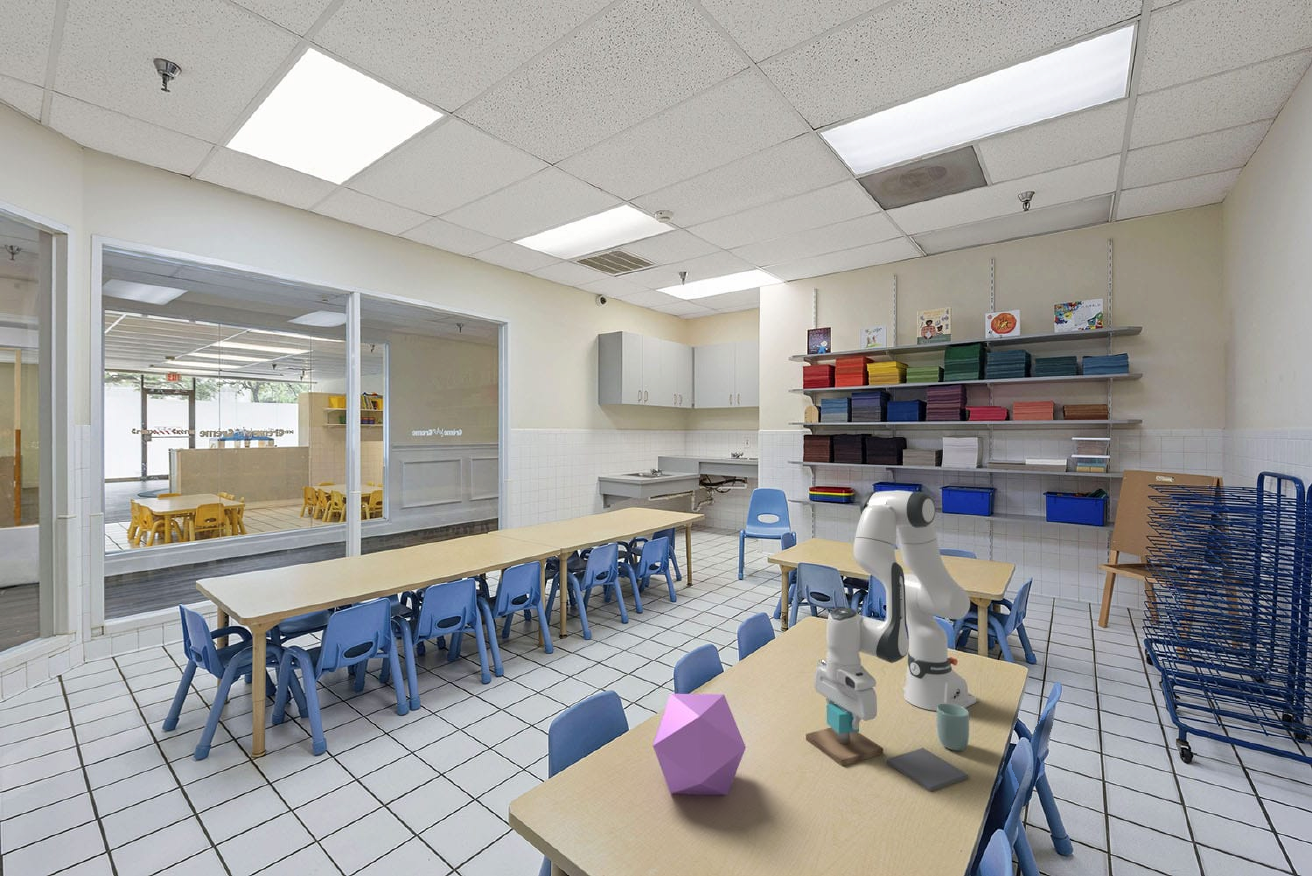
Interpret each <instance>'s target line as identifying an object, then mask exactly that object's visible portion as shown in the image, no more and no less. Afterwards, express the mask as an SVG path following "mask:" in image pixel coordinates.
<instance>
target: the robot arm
mask: <svg viewBox="0 0 1312 876" xmlns="http://www.w3.org/2000/svg"><path fill="white" fill-rule="evenodd" d="M859 512H860V514H861V515H860V518H859V521H858V524H857V526H856V527H857V528H856V531H855V535H854V542H853V550H852V554H853V555H852V556H853V558H854V560H855V562H856V564H857V565H858V566H859V567H860V568H861V569H862V570H863V571H865V572H866V573H868V574H869V575H871V576H872V577H875V579H877V580H878V581H880V583H881V584H882V585H883V587H884V589H885V603H886V605H885V606H886V609H885V610H886V619H885V620H879V619H875V618H871V617H868V616H864V615H860V614H858V612H857V610H855V609H853V608H852V607H851V608H850V607H836V608H834V609H832V610H830V612H829V613H828V617H827V623H826V635H825V636H826V645H827V653H826V656H825V657H826V659H819V660H818V661H817V663H816V670H815V675H814V690H815V693H817V694H819V695H822V696H823V697H825V698H826V699H825V701H826V705H829V704H838V705H839V706H841V707H843V708H844V709H846V710H848V711H849V712H851V713H852V716H853V717H854V719H853V721H850V727H851V728H852V729H854V730H857V729H858V728H859V729H860V722H861V720H863V721H867V722H868V721H871V720H874V719H876V717H877V715H878V714H877V713H878V700H877V693H876V690H875V689H874V688H875V687H876V686H877V681H876V679H875V677H874V676H873V675H872V674H871V673H869V672H868V671H867V670H866V669H865V667H864V666H863V665H862V660H861V657H860V653H863V654H865V655H869V656H872V657H876V658H878V659H880V660H882V661H885V662H887V663H891V664H894V663H897V662H898V661H901V660H902V659H904V658H905V657H906V656H907V657H906V659H907V665H908V666H907V667H906V676H905V685H904V686H903V687H902V688H903V689H902V690H903V693H904V694H903V698H904V699H905V701H906V702H908V703H909V704H911V705H913V706H915V707H918V708H921V709H924V710H929V711H934V712H935V711H936V712H937V705H938V704H941V703H950V704H956V705H959V706H962V707H964V708H965V709H967V708H968V707H970V706H972V705H973V704H975V703H977V701H978V700H977V697H975V696H974V695H973V694H971V693H970V692H969V688H968V682H967V681H966V679H965V678H963V677H962V676H961V675H959V673H957V672H956V671H955V670H953V668H952V666H957V665H958V662H959V661H958V660H957V658H954V657H951V656H950V657H949V654H948V652H949V651H948V635H947V632H946V631H945V629H944V628H943V627H942V626H941V625H940V623H938V622H937V620H936V618H935V617H938V618H941V619H951V620H961V619H963V618H964V617H965V616H966V615H967V614H968V613H969V610H970V608H971V598H970V596H969V593H968V592H967V590H966V589H964V587H962V586H961V585H959V584H958V582H957V581H956V580H955V579H954V578H953V577H952V576H951V574H950V573H949V571H948V570H947V568H946V566H945V563H944V562H943V559H942V555H941V553H940V548H939V544H938V539H937V533H936V528H935V525H934V519H935V516H936V504H935V501H934V500H933V499H932V498H931V496H930V495H929V494H928V493H925V492H921V491H910V490H909V491H908V490H897V489H896V490H883V491H879V490H874V491H869V492H867V493H865V494H864V496H863V497H862V498H861V500H860V504H859ZM896 539H898V544H899V548H900V554H901V560H902V562H903V564H904V566H905V567H906V568H907V569H908V570H909V571H911V572H912V573H904V570H903V567H902V566H901V564H898V561H897V559H896V553H895V549H896V548H895V547H896V541H897V540H896ZM934 616H935V617H934Z"/></svg>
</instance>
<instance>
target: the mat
mask: <svg viewBox="0 0 1312 876" xmlns="http://www.w3.org/2000/svg"><path fill="white" fill-rule="evenodd" d="M886 764H887V765H889V766H891V767H892V768H894V770H897V771H898V772H900V773H901V774H903V775H904V776H905V777H907V778H909V779H910V780H911V781H913V782H915V783H916V784H918V785H919V786H921V787H922V788H924V789H925V790H927V791H928V792H932V791H936V790H939V789H942V788H944V787H948V786H950V785H953V784H955V783H958V782H962V781H965V780H967V779H969V774H968V772H965V771H963V770H962V769H961V768H958V767H957V766H955V765H953V764H952V763H950V762H948V761H946V760H944V759H943V758H941V757H939V756H937V755H936V754H934V753H933V752H931V751H930V750H927V749H926V748H924V747H922V748H919V749H914V750H911V751H908V752H905V753H901V754H897V755H895V756H892V757H888V758H886Z"/></svg>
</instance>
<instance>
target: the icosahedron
mask: <svg viewBox="0 0 1312 876" xmlns="http://www.w3.org/2000/svg"><path fill="white" fill-rule="evenodd" d="M653 740H654V741H653V745H652V748H653V750H654V753H655V755H656V757H657V760H658V764H659V766H660V769H661V771H662V774H663V777H664V780H665V782H666V786H667V788H668V790H669V793H670V794H671V795H704V796H705V795H707V796H709V795H710V796H711V795H712V796H715V795H717V796H728V793H729V791H730V788H731V786H732V784H733V781H734V779H735V776H736V774H737V771H738V769H739V766H740V763H741V761H742V758H743V755H744V754H745V751H746V748H747V747H746V744H745V743H744V739H743V737H742V735H741V732H740V729H739V727H738V725H737V723H736V720H735V717H734V715H733V713H732V710H731V708H730V706H729V703H728V700H727V698H726V695H725V694H723V693H722V694H721V693H718V694H717V693H714V694H713V693H709V694H708V693H670V695H669V698H668V701H667V703H666V705H665V709H664V711H663V714H662V717H661V720H660V722H659V726H658V728H657V730H656V733H655V736H654V739H653Z"/></svg>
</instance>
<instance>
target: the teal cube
mask: <svg viewBox="0 0 1312 876" xmlns="http://www.w3.org/2000/svg"><path fill="white" fill-rule="evenodd" d="M853 719H854V717H853V716H852V713H851V712H849V711H848V710H846V709H844V708H843V707H841V706H839V705H838V704H836V703H835V704H829V705H828V704H826V724H827V725H828V726H829V728H833V729H834V730H835V731H836V732H837V733H838V734H843V733H852V732H859V733H860V727H859V728H858V729H857V730H854V729H852V728H851V727H850V721H853Z"/></svg>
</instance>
